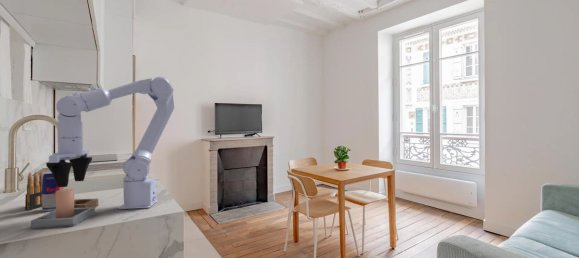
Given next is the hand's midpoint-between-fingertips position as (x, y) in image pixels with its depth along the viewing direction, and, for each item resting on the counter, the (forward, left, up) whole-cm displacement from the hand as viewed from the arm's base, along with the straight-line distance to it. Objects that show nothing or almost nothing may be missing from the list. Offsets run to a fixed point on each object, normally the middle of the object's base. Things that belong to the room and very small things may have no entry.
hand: (71, 183), depth 78 cm
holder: (+2, -7, -10) cm, 12 cm away
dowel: (0, +3, -9) cm, 10 cm away
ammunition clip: (+17, -14, -10) cm, 24 cm away
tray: (0, +3, -10) cm, 10 cm away
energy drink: (+11, -9, -10) cm, 17 cm away
